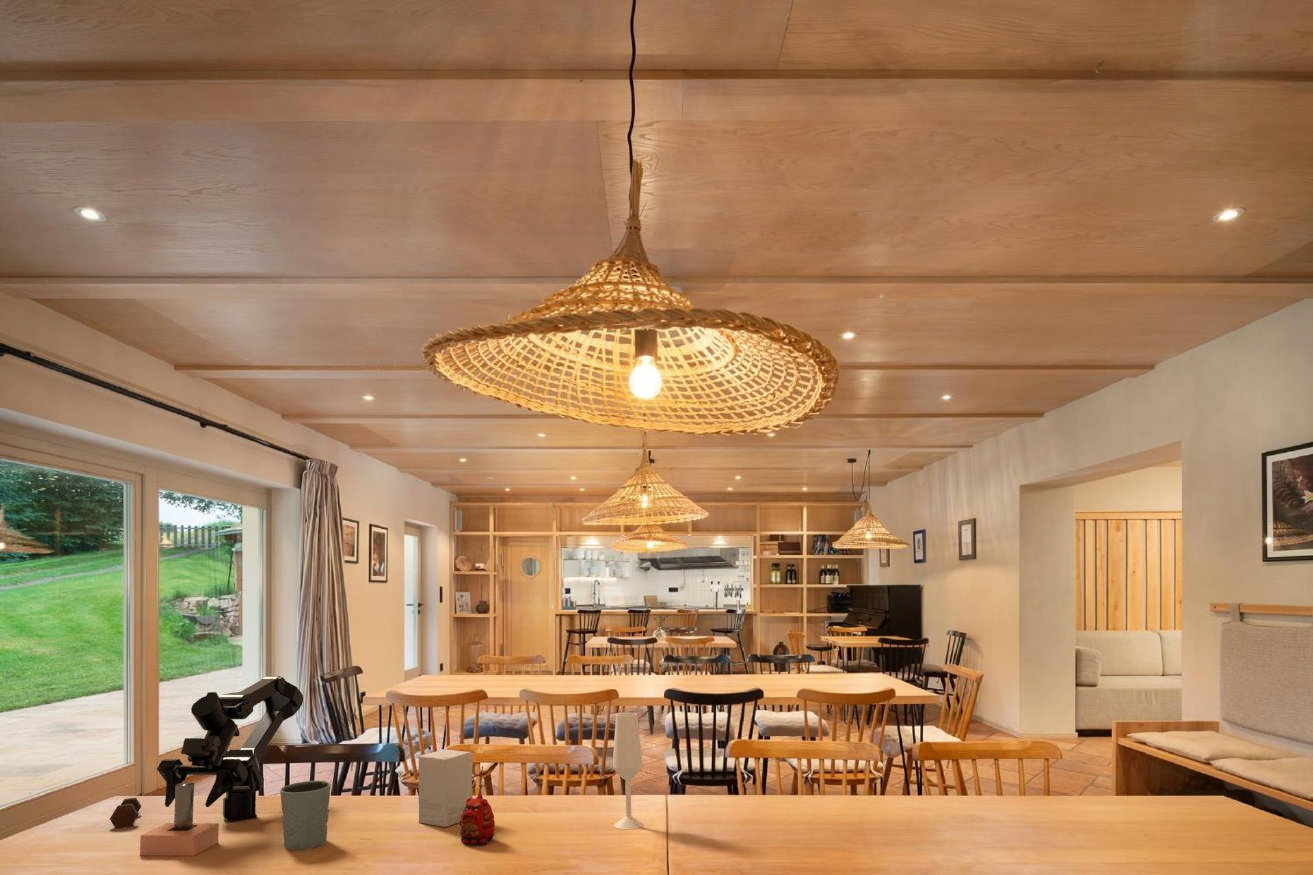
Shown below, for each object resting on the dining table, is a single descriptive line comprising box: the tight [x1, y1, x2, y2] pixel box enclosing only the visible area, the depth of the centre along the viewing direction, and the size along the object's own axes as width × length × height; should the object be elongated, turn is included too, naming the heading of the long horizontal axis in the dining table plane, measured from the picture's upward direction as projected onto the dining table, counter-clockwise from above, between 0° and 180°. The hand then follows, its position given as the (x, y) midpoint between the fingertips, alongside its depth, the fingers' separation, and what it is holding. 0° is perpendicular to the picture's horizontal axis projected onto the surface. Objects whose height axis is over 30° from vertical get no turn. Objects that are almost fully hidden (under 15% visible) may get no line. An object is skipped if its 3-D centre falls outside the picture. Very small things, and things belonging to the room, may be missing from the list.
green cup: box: [279, 780, 332, 851], centre depth 204 cm, size 10×10×12 cm
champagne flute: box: [612, 712, 645, 830], centre depth 213 cm, size 7×7×24 cm
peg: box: [173, 781, 195, 831], centre depth 204 cm, size 4×4×13 cm
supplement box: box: [418, 748, 473, 828], centre depth 220 cm, size 9×9×15 cm
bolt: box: [109, 797, 142, 829], centre depth 227 cm, size 6×5×15 cm
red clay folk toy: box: [459, 765, 496, 846], centre depth 203 cm, size 8×7×15 cm
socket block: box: [139, 822, 220, 857], centre depth 203 cm, size 9×12×4 cm
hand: (186, 806), depth 205 cm, fingers open, 9 cm apart
